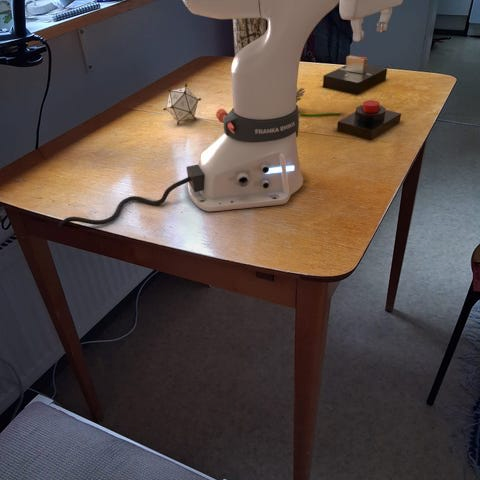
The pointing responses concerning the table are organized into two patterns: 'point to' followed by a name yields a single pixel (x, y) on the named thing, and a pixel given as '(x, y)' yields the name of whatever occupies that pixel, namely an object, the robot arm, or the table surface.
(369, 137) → the button block
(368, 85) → the panel
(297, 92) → the decorative flower
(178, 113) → the game die
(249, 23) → the bark textured post
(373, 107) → the button
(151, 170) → the table surface
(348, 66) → the beige rectangular block
